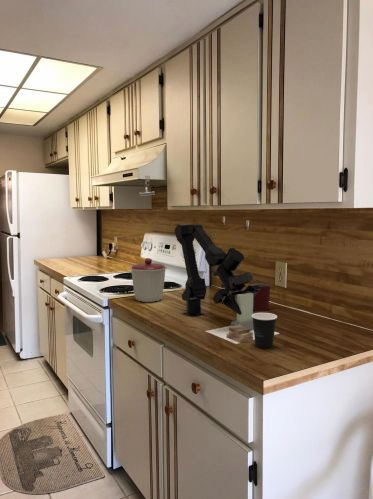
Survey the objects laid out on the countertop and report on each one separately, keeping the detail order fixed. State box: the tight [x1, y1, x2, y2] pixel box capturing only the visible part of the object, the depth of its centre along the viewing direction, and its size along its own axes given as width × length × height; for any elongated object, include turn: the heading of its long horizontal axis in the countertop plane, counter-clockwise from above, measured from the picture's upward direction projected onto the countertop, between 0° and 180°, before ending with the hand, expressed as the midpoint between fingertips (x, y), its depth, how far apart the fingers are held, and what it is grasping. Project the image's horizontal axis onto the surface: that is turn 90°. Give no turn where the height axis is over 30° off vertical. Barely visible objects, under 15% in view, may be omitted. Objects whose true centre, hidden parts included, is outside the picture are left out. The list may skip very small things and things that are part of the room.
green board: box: [236, 293, 254, 324], centre depth 147 cm, size 2×6×13 cm, turn 123°
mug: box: [249, 282, 271, 312], centre depth 184 cm, size 12×9×11 cm
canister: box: [129, 257, 167, 303], centre depth 201 cm, size 18×18×21 cm
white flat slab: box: [205, 320, 280, 345], centre depth 144 cm, size 17×20×4 cm
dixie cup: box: [252, 312, 278, 350], centre depth 129 cm, size 8×8×11 cm
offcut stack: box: [227, 325, 254, 344], centre depth 136 cm, size 7×6×4 cm
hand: (247, 313), depth 145 cm, fingers closed on green board, 6 cm apart
